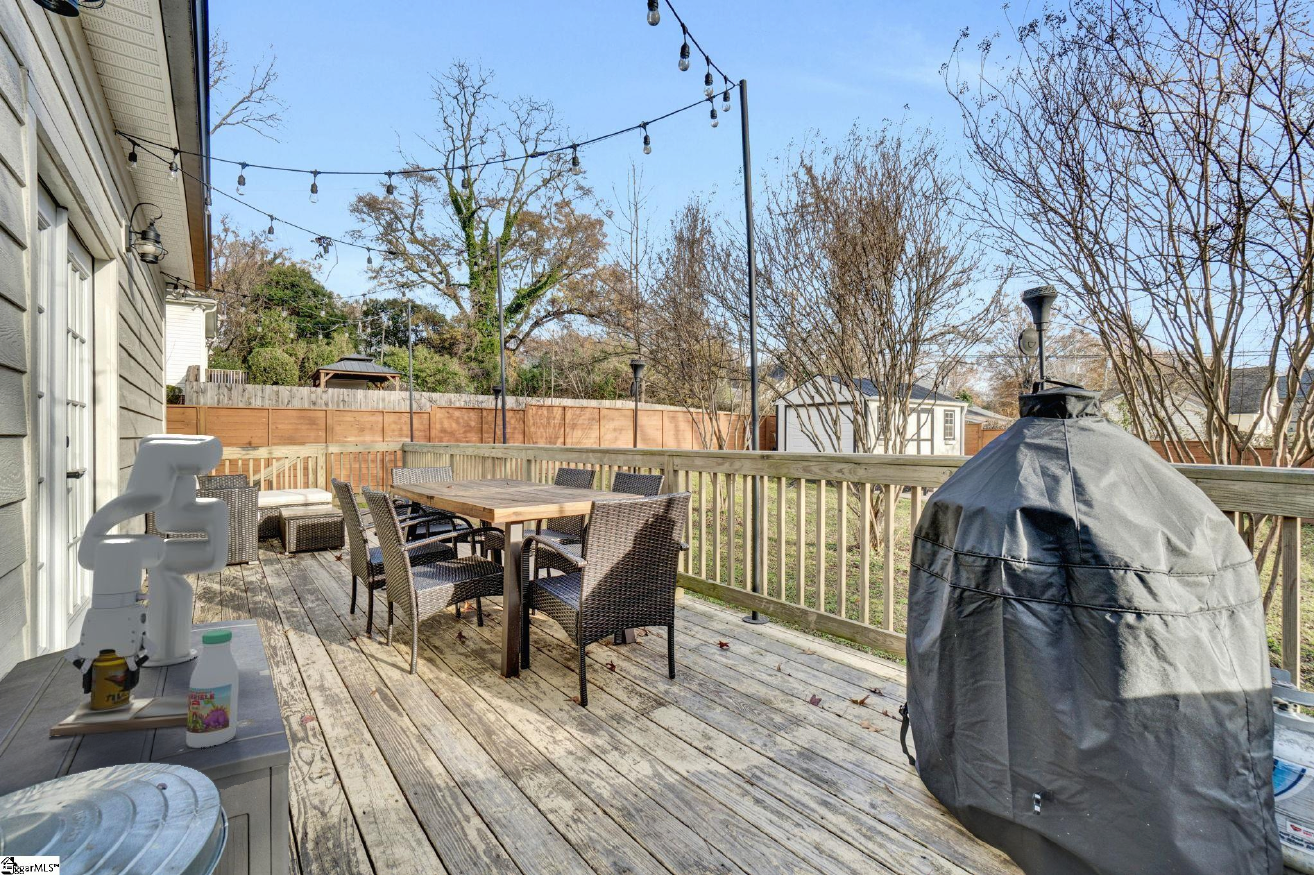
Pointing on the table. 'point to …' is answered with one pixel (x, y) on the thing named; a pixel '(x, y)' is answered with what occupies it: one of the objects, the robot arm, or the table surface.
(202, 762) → the table surface
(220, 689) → the milk bottle
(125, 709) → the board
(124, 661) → the condiment
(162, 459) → the robot arm
